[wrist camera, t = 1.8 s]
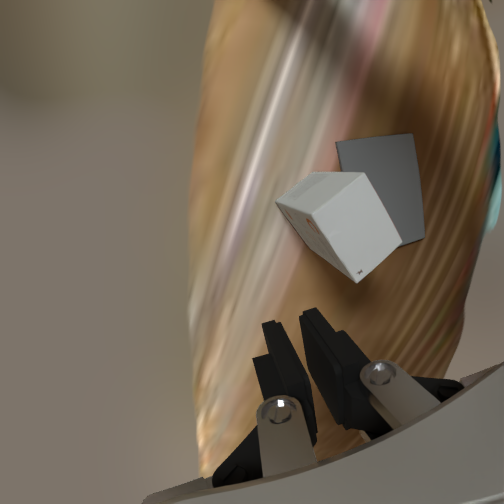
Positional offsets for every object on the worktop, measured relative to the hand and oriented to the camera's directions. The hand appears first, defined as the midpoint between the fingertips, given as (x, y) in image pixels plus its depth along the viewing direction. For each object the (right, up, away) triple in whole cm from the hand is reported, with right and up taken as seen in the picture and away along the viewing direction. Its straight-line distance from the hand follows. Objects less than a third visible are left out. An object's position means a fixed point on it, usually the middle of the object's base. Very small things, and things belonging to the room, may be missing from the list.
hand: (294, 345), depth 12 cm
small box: (+6, +9, +25) cm, 27 cm away
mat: (+17, +12, +26) cm, 33 cm away
